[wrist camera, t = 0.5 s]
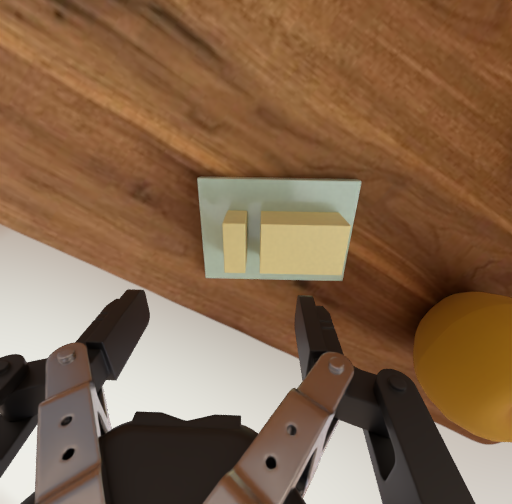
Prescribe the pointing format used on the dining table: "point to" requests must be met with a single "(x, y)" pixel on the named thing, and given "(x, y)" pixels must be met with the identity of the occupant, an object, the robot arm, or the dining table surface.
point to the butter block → (303, 242)
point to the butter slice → (235, 241)
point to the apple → (469, 362)
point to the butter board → (267, 199)
